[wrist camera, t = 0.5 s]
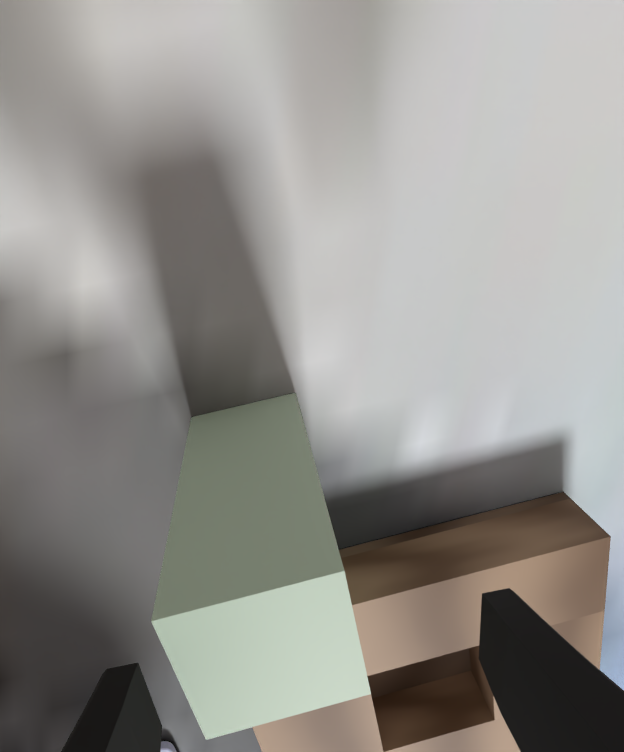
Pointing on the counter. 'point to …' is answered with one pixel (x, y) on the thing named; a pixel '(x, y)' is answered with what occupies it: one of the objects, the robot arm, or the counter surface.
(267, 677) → the peg
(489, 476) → the counter surface
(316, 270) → the counter surface
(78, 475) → the counter surface
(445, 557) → the socket block
